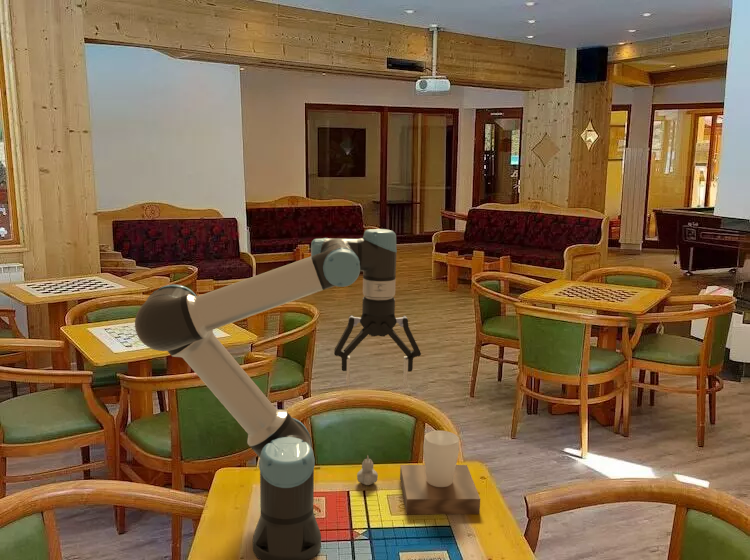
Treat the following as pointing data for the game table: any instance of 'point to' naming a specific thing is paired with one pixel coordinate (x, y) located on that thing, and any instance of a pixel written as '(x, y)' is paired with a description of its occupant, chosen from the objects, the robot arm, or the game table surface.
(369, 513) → the game table surface
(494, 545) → the game table surface
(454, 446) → the cup
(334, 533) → the game table surface
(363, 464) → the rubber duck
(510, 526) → the game table surface
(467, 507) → the walnut base
